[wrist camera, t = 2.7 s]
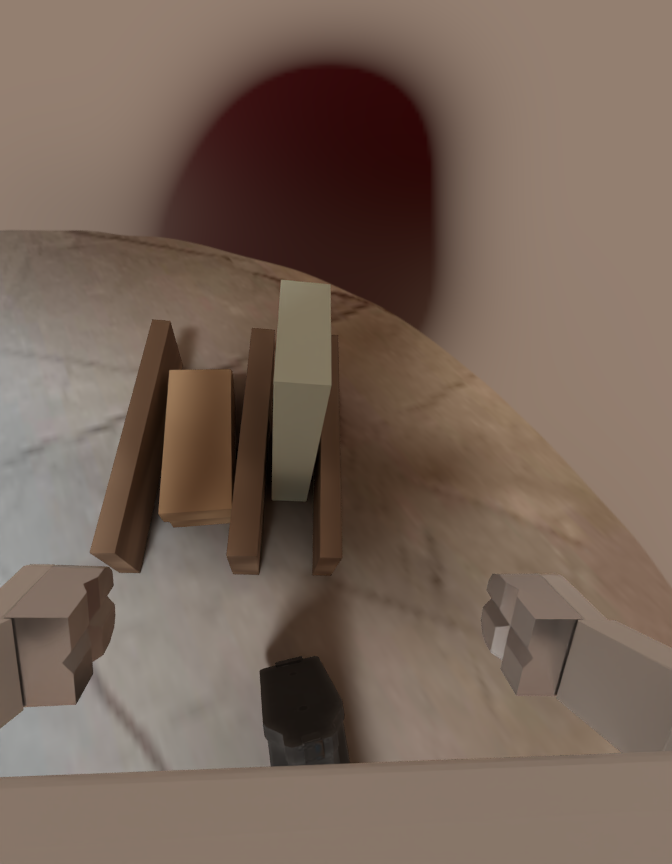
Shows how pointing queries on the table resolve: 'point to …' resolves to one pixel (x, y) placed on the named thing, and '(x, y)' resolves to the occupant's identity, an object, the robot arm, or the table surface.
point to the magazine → (302, 714)
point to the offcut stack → (198, 448)
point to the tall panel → (300, 385)
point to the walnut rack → (143, 453)
